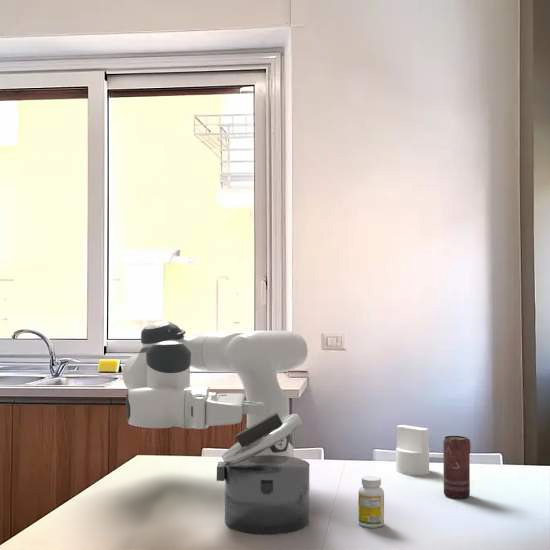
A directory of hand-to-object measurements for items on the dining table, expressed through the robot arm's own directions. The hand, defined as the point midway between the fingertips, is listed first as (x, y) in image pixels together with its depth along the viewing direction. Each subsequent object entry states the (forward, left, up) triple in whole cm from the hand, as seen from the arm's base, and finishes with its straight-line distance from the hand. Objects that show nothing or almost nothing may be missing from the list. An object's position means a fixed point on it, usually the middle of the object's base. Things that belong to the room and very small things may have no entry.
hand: (265, 407), depth 152 cm
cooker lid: (0, 0, -7) cm, 7 cm away
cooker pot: (0, 0, -24) cm, 24 cm away
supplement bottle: (+14, +17, -24) cm, 33 cm away
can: (+9, +49, -24) cm, 56 cm away
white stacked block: (-15, +58, -24) cm, 65 cm away
